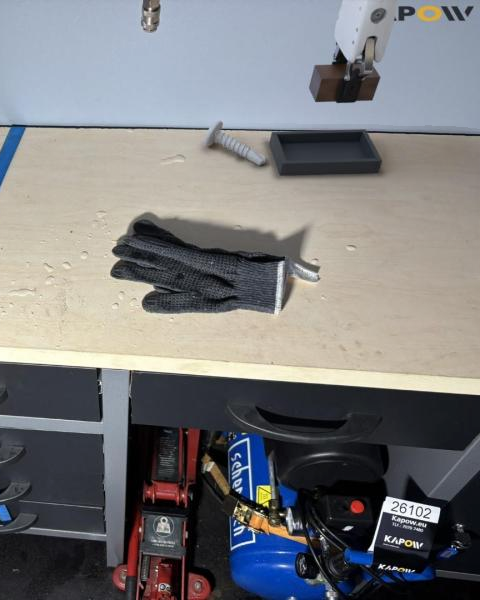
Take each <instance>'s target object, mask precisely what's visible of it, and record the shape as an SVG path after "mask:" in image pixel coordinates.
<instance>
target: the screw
mask: <svg viewBox="0 0 480 600" xmlns="http://www.w3.org/2000/svg"><path fill="white" fill-rule="evenodd" d="M223 125H224V122H223V121H222V120H218V121H216V122H214V123H212V125H211V126H210V127H209V128H208V130H207V132H206V134H205V137H204V146H205V147H207V148H209V147H211V146H212V145H213V144H214V143H215V144H217V143H218V144H219V146H223V148H227V150H228V151H230V150H231V152H232V153H235V154H236V155H237V156H238V155H239V156H240V158H244V160H248V161H250V162H252V163H254V164H255V165H257V166H261V165H263V164H265V163H266V156H265V155H263V154H261V153H260V152H258V151H256V150H254V149H253V148H251V146H247V144H246V143H245V144H243V142H242V141H241V142H240V141H238V139H235V138H234V136H233V137H231V136H230V134H228V135H227V134H226V132H222V129H223Z"/></svg>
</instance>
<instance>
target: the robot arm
mask: <svg viewBox="0 0 480 600" xmlns="http://www.w3.org/2000/svg"><path fill="white" fill-rule="evenodd" d="M398 3H399V0H342V2H341V5H340V7H339V12H338V15H337V18H336V22H335V27H334V33H333V35H334V40H335V45H336V47H335V49H334V52H333V54H332V60H333V61H331V65H332V64H347V67H346V71H345V76H344V78H341V81H340V85H339V88H338V91H337V95H336V98H335V101H336V102H335V103H336V104H354V103H356V102H357V101H356V100H357V97H358V94H359V91H360V88H361V85H362V82H363V81H364V80H365V77H366V76H367V75H370V74H372V71H373V66H374V62H375V63H377V64H379V63H381V62H382V60H383V59H384V56H385V53H386V50H387V46H388V44H389V39H390V36H391V32H392V29H393V26H394V21H395V17H396V13H397V9H398ZM359 56H361V57H359ZM353 64H361V66H360V67H359V68H355V69H354V70H353V71H352V69H353Z"/></svg>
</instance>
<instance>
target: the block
mask: <svg viewBox="0 0 480 600" xmlns="http://www.w3.org/2000/svg"><path fill="white" fill-rule="evenodd" d="M360 66H361V64H353V69H352V71H353V70H354V69H355V68H359V67H360ZM346 67H347V64H332V63H331V64H314V66H313V70H312V74H311V78H310V81H309V82H310V83H309V85H308V90H309V92H310V94H311V96H312V99H313V100H314V103H336V101H335V98H336V95H337V91H338V88H339V85H340V81H341V78H344V76H345V71H346ZM380 80H381V75H380V74H379V72H378V71H377V69H376V67H375V66H374V65H373V71H372V74H370V75H367V76H366V77H365V80H364V81H363V82H362V85H361V88H360V91H359V94H358V97H357V100H356V102H370V101H371V102H372V101H373V100H374V98H375V94H376V91H377V89H378V86H379V83H380Z"/></svg>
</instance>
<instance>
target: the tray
mask: <svg viewBox="0 0 480 600" xmlns="http://www.w3.org/2000/svg"><path fill="white" fill-rule="evenodd" d="M269 147H270V151H271V153H272V156H273V159H274V162H275V165H276V168H277V172H278V174H279V176H310V175H311V176H313V175H349V174H350V175H352V174H354V175H355V174H379V171H380V168H381V165H382V163H383V158H382V157H381V156H380V154H379V151H378V149H377V148H376V146H375V144H374V142H373V140H372V139H371V137H370V135H369V133H368V131H367V129H365V128H364V129H361V128H360V129H329V130H328V129H326V130H294V131H271V134H270V139H269Z"/></svg>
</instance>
